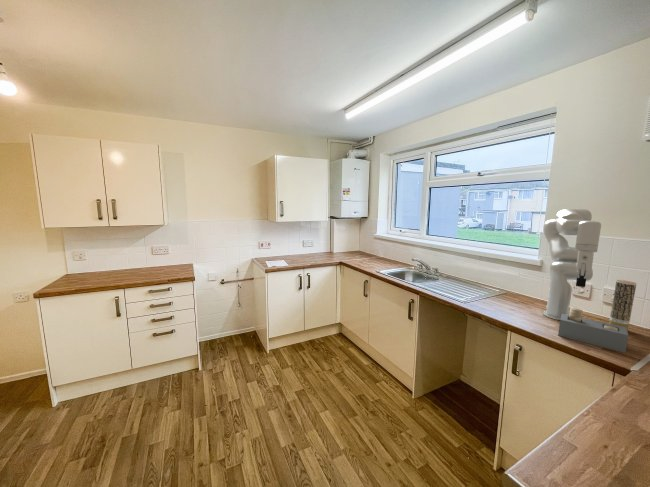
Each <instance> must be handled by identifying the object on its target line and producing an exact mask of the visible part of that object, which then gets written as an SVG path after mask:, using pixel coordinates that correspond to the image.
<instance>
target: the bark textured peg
mask: <svg viewBox="0 0 650 487" xmlns="http://www.w3.org/2000/svg"><path fill="white" fill-rule="evenodd" d="M636 288H637V282H634V281H629V280H623V279H617V280H616V282H615V288H614V292H613V298H612V299H613V300H612V305H611V309H610V316H609V321H608V324H613V325H617V326H622V327H626V329H627V332H628V331H629V327H630V322H631V316H632V311H633V305H634V304H633V303H634V300H635V294H636Z"/></svg>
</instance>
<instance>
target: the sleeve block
mask: <svg viewBox="0 0 650 487" xmlns="http://www.w3.org/2000/svg"><path fill="white" fill-rule="evenodd" d="M558 325H559V326H558V334H557V336H559V337H562V338H567V339H571V340H574V341H579V342H582V343H586V344H588V345H593V346H598V347H602V348H605V349H608V350H612V351H616V352H619V353H620V352H621V353H623V354H626V351H627V346H628V339H629V333H628V331H627V329H626V327H622V326H617V325H613V324H609V322H608V323H607V322H603V321H598V320H593V319H588V318H585V317H582V318H581V322H577V321H572V320H569V314H568V315H567V314H562V315H561V319H560V320H559V324H558ZM604 326H612V327H615V328H617V329H618V331H616V330H612V329H607V328H604Z"/></svg>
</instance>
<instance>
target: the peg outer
mask: <svg viewBox="0 0 650 487" xmlns="http://www.w3.org/2000/svg"><path fill="white" fill-rule="evenodd" d="M604 328H607V329H612V330H616V331H618V329H617V328H615V327H612V326H604Z"/></svg>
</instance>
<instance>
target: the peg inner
mask: <svg viewBox="0 0 650 487" xmlns="http://www.w3.org/2000/svg"><path fill="white" fill-rule="evenodd" d="M568 315H569V320H572V321H577V322H581V318H583V310H582V309H580V308H577V307H569V313H568Z"/></svg>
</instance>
